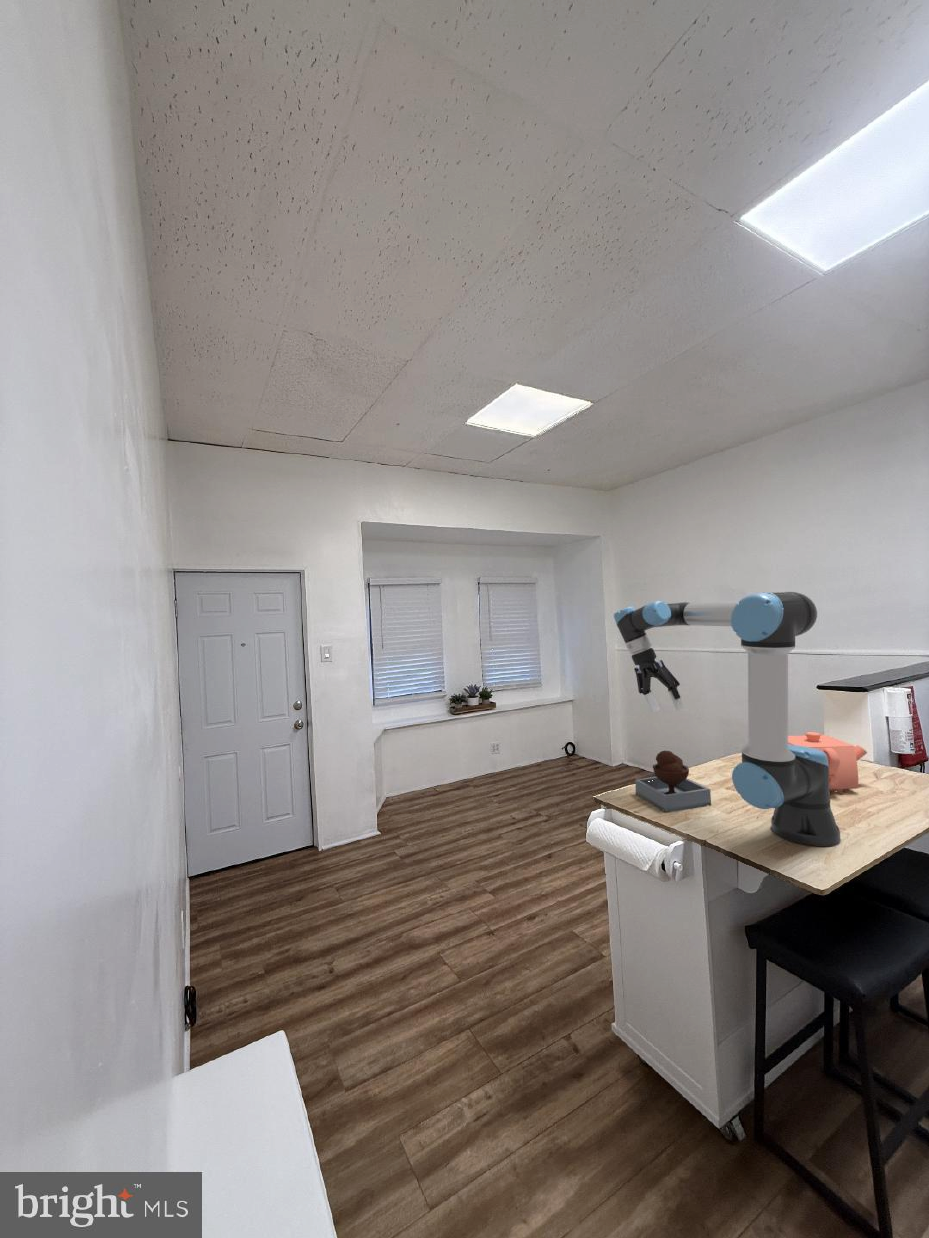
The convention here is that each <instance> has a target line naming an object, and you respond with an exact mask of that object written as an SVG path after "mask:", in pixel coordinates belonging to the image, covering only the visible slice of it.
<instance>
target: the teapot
mask: <svg viewBox="0 0 929 1238" xmlns="http://www.w3.org/2000/svg"><path fill="white" fill-rule="evenodd" d="M804 734H805V735H788V744H789V745H798V746H804V747H810V748H814V749H818V750H821V751H823V752H824V753H825V754H826V755H827V758H828V765H829V786H830V791H832V792H834V791H837V792H836V793H838V792H843V791H845V790H854V789H855V790H856V789H858V788H859V770H858V761H859V760H860V759H862V758H863V757H865V755H867V754H868V751H867V750H866V749H865V748H863V747H862V746H860V745H859V744H858V745H853V744H850V743H847V742H846V741H843V740H840V739H838V738H835V737H833V736H830V735H827V734H821V733H819V732H817V731H808V732H804ZM843 793H844V792H843Z"/></svg>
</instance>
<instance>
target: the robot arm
mask: <svg viewBox="0 0 929 1238" xmlns="http://www.w3.org/2000/svg"><path fill="white" fill-rule="evenodd" d="M817 618H818V610H817V607H816V604H815V603H814V602H813V600H812V599H811V598H810V597H808V596H807V595H805V594H802V593H799V592H796V591H784V592H783V591H782V592H781V591H780V592H779V591H778V592H777V591H776V592H757V593H753V594H749V595H747V596H744V597H742V598H741V599H740V600H732V601H729V600H728V601H703V602H702V601H700V602H687V601H686V602H675V603H673V602H672V603H666V602H663V601H662V600H655V601H652V602H649V603H647V604H645V605H643V606H642V607H639V608H637V609H635V606H632V605H631V606H628V607H625V608H623V609H621V610H620V609H619V610H618V611H616V612H614V614H613V619H614V621H615V624H616V627H617V628H618V630H619V632H620V635H621V637H622V639H623V641H624V643H625V645H626V648H627V650H628V652H629V654H630V655H631V659H632V662H633V664H634V665H635V666H636V667H634V669H633V670H634V673H635V677H636V683H637V688H638V689H637V690H638V693H639V694H642V695H644V696H645V699H646V701H647V703H648V705H649V708H650V709H651V711H652V712H651V713H653V714H654V713H656V712H658V711H660V710H661V708H660V706H659V704H658V702H657V700H656V697H655V694H654V693H653V691H652V690H651V681H652V678H655V679H657V680H658V681H659V682H660V683H661V684H663V686H664V687H665V688H667V692H668V694H669V696H670V699H671V701H672V703H673V705H674V707H675V710H676V711H680V710H682V709H684V708H685V707H686V706H685V704H684V702H683V701H682V700H683V699H682V698H681V695H680V692H679V690H678V687H679V686H680V685H681V684H680V681H678V680H677V678H676V677H675V676H674V674H673V673H672V672H671V671H670V669H668V667H667V666H666V665H665V663H664V662H663V660H662V659H660V660H658V661H656V659H657V654H656V653H655V650H654V648H652V643H651V640H650V639H649V636H648V635H647V633H646V631H647V630H650V629H652V628H662V627H664V628H665V627H671V626H672V627H673V626H677V627H678V626H690V627H692V626H695V627H696V626H699V627H701V626H703V627H706V626H707V627H731V628H732V630H733V632H735V634H736V636H737V637H739V638H740V646H741V648H742V649H744V650H745V651H746V652H747V694H748V695H747V698H748V699H747V709H748V710H747V715H748V716H747V717H748V718H747V719H748V720H747V721H748V725H747V727H748V728H747V729H748V732H747V733H748V736H747V737H748V743H747V745H745V746H743V747H742V748H741V762H739V763H738V764H737V765H736V766H735V767H734V768H733V770H732V772H731V779H732V784H733V786H734V789H735V790H736V792H737V794H739V795H740V797H741V799H743V800H744V801H745V802H746V803H747V804H749V805H750V806H752V807H754V808H757V809H761V810H770V809H773V810H774V811H773V813H772V814H773V815H772V816H771V818H770V822H771V823H770V825H771V826H770V828H771V830H772V832H773V833H774V834H775V835H777V836H779V837H780V838H782V839H784V840H788V841H789V842H793V843H797V844H801V845H807V846H813V847H830V846H836V845H837V844H839V843H840V842H841V841H842V840H841V830H840V828H839V826H838V825H837V821H836V820H835V817H834V813H833V811H832V808H831V793H830V791H831V789H830V786H829V765H828V758H827V755H826V754H825V753H824V752H823V751H821V750H818V749H814V748H810V747H804V746H798V745H789V744H788V736H789V653H790V652H791V651H793V650H794V649H795V648H796V637H799V636H801V635H804V634H805V633H807V632H809V631H810V630H811V629H812V628H813V627H814V625H815V623H817Z"/></svg>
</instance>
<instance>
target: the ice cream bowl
mask: <svg viewBox="0 0 929 1238" xmlns="http://www.w3.org/2000/svg"><path fill="white" fill-rule="evenodd" d="M655 760H656V762H657V763H656V764H652V769H653V773H654V775H655V777H657V778H658V779H659V780H660V781H662V782H664V783H666V784H668V786H669V791H668V792H666V793H664V794H666V795H667V794H674V793H677V792H675V790H674V787H675V785H677V784H679V783H681V782H683V781H684V780H685V779H686V778H687V779H688V776H689V774H690V769H689V766H687V765H684V761H683V759H682V758H680V757H679V756H678V755H676V754H675V753H674V752H672V751H671V750H662V751H659V752H658V753H657V754H656V756H655Z"/></svg>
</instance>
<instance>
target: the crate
mask: <svg viewBox="0 0 929 1238" xmlns="http://www.w3.org/2000/svg"><path fill="white" fill-rule="evenodd" d="M634 780H635V781H634V784H635V795H636V796H638V797H640V798H641V799H642V800H644V801H645V802H648V803H649V804H651V805H652V806H654V807H656V808H657V809H659V810H661V811H662V812H664V813H666V814H667V813H673V812H678V811H685V810H689V809H690V810H691V809H697V808H702V807H707V805H709V806H712V802H711V801H712V800H711V799H712V798H711V797H712V796H711V789H710V788H709V787H706V786H705V785H702V784H700V783H698V782H696V781H693V780H691V779H689V778H688V777H687V778H686V779H685V780H684V781H683V782H681V783H679V784H677V785H675V787H674V790H675V792H677V793H674V794H667V795H666V794H664V793H666V792H668V791H669V786H668V784H666V783H664V782H662V781H660V780H659V779H658V778H657V777H656V776H650V777H646V778H645V777H644V778H643V777H642V778H637V779H636V778H635V779H634ZM652 780H653V781H652ZM648 781H650V782H648Z"/></svg>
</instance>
